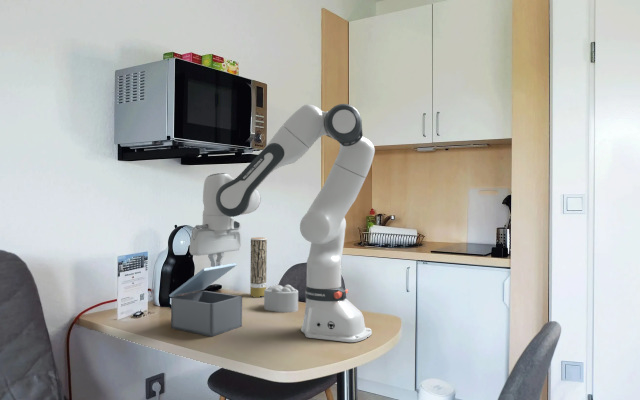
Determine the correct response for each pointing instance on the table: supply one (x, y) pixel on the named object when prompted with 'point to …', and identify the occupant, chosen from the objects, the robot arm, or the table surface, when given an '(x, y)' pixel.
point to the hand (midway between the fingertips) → (216, 267)
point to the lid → (203, 279)
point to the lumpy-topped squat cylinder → (281, 299)
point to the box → (206, 313)
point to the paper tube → (258, 266)
